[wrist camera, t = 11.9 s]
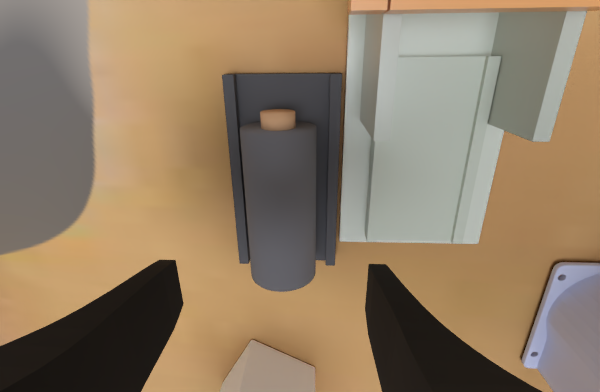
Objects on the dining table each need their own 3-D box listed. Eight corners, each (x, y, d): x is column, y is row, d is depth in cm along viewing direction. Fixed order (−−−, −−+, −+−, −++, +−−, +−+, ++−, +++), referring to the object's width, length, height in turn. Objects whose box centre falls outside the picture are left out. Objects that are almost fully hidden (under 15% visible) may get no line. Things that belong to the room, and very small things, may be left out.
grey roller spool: (313, 262, 23) (316, 302, 19) (256, 263, 23) (248, 302, 19) (314, 105, 19) (318, 117, 15) (244, 106, 19) (231, 118, 15)
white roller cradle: (474, 239, 22) (522, 295, 17) (338, 236, 23) (345, 291, 17) (527, -2, 17) (623, -29, 12) (348, 1, 17) (362, -23, 12)
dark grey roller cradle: (333, 255, 23) (334, 265, 22) (243, 253, 24) (239, 263, 22) (340, 72, 19) (341, 74, 17) (227, 73, 19) (222, 74, 18)
